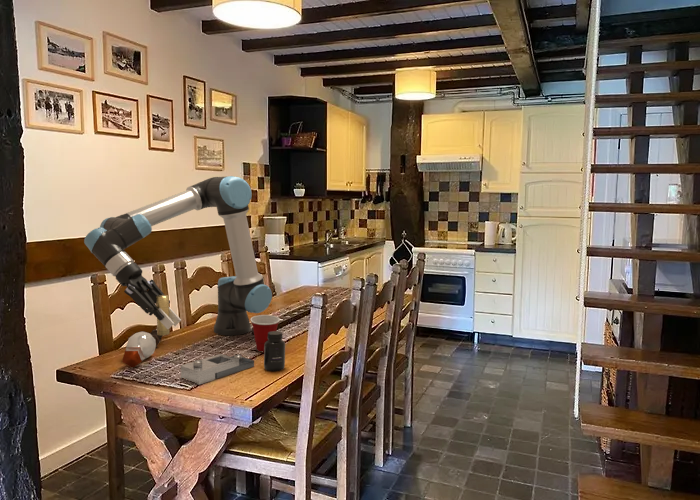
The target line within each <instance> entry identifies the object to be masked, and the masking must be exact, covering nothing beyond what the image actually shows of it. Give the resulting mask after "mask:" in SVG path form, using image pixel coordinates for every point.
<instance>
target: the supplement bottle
mask: <svg viewBox="0 0 700 500" xmlns="http://www.w3.org/2000/svg"><path fill="white" fill-rule="evenodd" d="M283 337H284V336H283V332H282V331H279V330H276V331H271V332H268V337H267V338H268V340H267V341H266V342H265V344H264V352H263V367H264V370H265V371H267V372H268V371H269V372H280V371H282V370H284V369H285V367H286V342H285V340H283Z"/></svg>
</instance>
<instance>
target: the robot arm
mask: <svg viewBox="0 0 700 500" xmlns="http://www.w3.org/2000/svg"><path fill="white" fill-rule="evenodd" d="M252 195H253V194H252V188H251V186H250V185H249V183H248V182H247V181H246V180H245V179H244V178H242V177H238V176H233V175H231V176H229V175H228V176H212V177H210V178H207V179H204V180H203V181H200V182H198V183H195V184H193V185H190V186H188V187H186V190H185V191H182V192H179V193H177V194H174V195H171V196H168V197H166V198H164V199H160V200H158V201H155V202H153V203H150V204H146V205H145V206H142V207H139V208H136V209H133V210H131V211H128V212H125V213H124V214H120V215H118V216H116V217H113V216H111V217H107V218H105V219H103V220H102V222H101V223H100V225H99V227H97V228H94V229H92V230H90V231H89V232H88V233H87V234H86V235H85V237H84V240H83V243H84V245H85V246H86V247H87V248H88V250H89V251H90V253H91V254H93V256H94V257H95V258H96V259H98V261H99V262H100V263H101V264H102V265H103V266H104V267H105V269H106V270H107V271H109V273H110V274H111V275H112V276H113V277H115V280H116V281H117V282H118V283H119V284H120V285H121V286H122V287H126V288H125V290H124V291H123V293H124V294H126V295H128V296H129V297H130V298H131V299H132V300H133V301H134V302H135V303H136V304H137V306H138V307H140V309H141V310H142V311H143V312H145V313H146V314H147V315H149V316H153V315H154V316H155V317H156V320H157V319H158V320H159V321H160V322H161V323H162V324H163V325H164V326H165V327H166V328H167V329H169V330H170V328H171V327H173V326H174V327H176V326H177V325H178V324H179V323H180V322H181V321H182V319H181V318H180V316H179V315H178V314H176V312H175V311H174V310H173V309H172V308H171V307H170V306H169V317H168V316H167V314H166V313H165V312H164V311H163V310H162V309H161V308H159V309H158V307H157V299H156V296H159V295H165V293H163V291H162V290H161V288H160V287H158V285H157V284H156V282H155V280H154V279H152V278H151V279H149V280H147V279H146V278H145V277H144V276H143V275H142V274H143V270H142V268H141V267H140V266H139V265H138V264H137V263H136V262H135V260H134V259H133V258H132V257H131V256H130V255H129V254H128V253H127V252H126V249H127V248H129V247H130V246H132V245H135V244H136V243H137V242H139V241H141V240H142V239H144V238H145V237H147V236H149V235H150V234H151V233H152V231H153V228H152V227H153V226H156V225H158V224H161V223H164V222H166V221H168V220H171V219H173V218H177V217H178V216H181V215H183V214H186V213H189V212H190V211H193V210H196V211H200V210H203V209H206V208H216V210H217V214H218V216H219V217H220V218H222V219H223V222H224V227H225V232H226V238H227V241H228V242H227V243H228V246H229V249H230V254H231V260H232V264H233V268H234V274H235V276H234V275H232V276H225V277H220V278H218V281H217V316H216V319H215V323H214V325H213V332H214V333H215V334H216V335H222V336H238V335H244V334H247V333H249V332H251V330H252V323H251V321H250V318H249V316H248V313H251V314H260V313H262V312H264V311H266V310H267V309H268V307H269V306H270V304H271V302H272V299H273V293H272V290H271V288H270V287H269V285H267V284H265V281H264V277H263V276H264V275H262V274H261V273H260V272H258V271H259V270H258V266H257V262H256V257H255V252H254V246H253V243H252V236H251V232H250V228H249V223H248V218H247V214H248V212H249V210H250V206H249V204H251V200H252ZM169 304H171V301H170V300H169Z"/></svg>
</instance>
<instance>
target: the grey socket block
mask: <svg viewBox="0 0 700 500" xmlns="http://www.w3.org/2000/svg"><path fill="white" fill-rule="evenodd" d="M219 362H221V363H219ZM216 363H219V364H216ZM236 366H239V359H236V358H233V357H232V356H229V355H226V354H222V353H219V354H216V355H213V356H209V357H208V356H207V357H205V358H203V359H196V360H194V361H192V362H187V363H186V364H181V365H180V379H182V378H184V379H187V380H190V381H192V382H195V383H197V384H196V385H198V386H199V385H203V384H206V383H210V382H212V381H215V380H216V379H215V373H217V372H220V371H223V370H227V369H230V368H233V367H236ZM184 379H183V380H184ZM187 380H186V381H187ZM190 381H189V382H190ZM192 382H191V383H192ZM195 383H194V384H195Z"/></svg>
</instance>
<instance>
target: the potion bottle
mask: <svg viewBox="0 0 700 500" xmlns="http://www.w3.org/2000/svg"><path fill="white" fill-rule="evenodd" d="M155 347H156V341H155V338H154V337H153V336H152V335H151V332H150V333H149V332H146V331H139V332H136V333H134V334H132V335H131V336H130V337H128V339H127V343H126V348H125V351H124V354H123V356H122V360H121V362H122V363H123V364H125V365H126V366H128V367H130V368H131V367H133V368H134V367H137V365H140V363H142V362H143V361H144V360H146V359H147V358H149V357H150V356H152V355H154V354H155V350H156V348H157V347H156V348H155Z"/></svg>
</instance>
